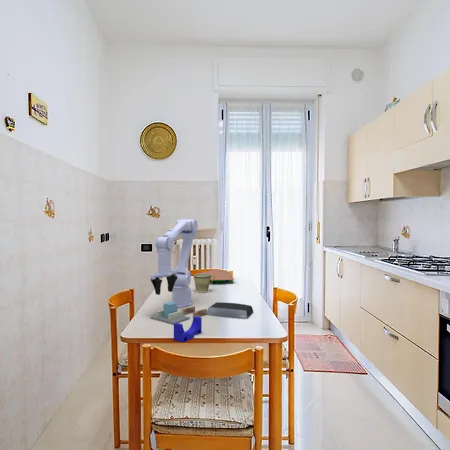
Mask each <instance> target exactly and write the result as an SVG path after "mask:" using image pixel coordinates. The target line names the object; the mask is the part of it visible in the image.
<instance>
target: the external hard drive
mask: <svg viewBox="0 0 450 450" xmlns="http://www.w3.org/2000/svg"><path fill="white" fill-rule="evenodd" d="M253 313H254V309H253V307H252V305H250V304H243V303H235V302H221V301H220V302H219V301H217V302H215V303H213V304H212V305H210V306H209V307H207V313H206V315H205V316H211V317H217V318H218V317H219V318H226V319H238V320H248V319H249V318H250V317H251V316H252V314H253Z"/></svg>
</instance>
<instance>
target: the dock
mask: <svg viewBox="0 0 450 450" xmlns="http://www.w3.org/2000/svg"><path fill="white" fill-rule="evenodd" d="M149 319H152V320H154V321H158V322H163V323H166V324H170V325H173V326H174V323H180V324H181V323H182V322H184V321H188V320H190V319H191V317H190V316H186V315H183V311H182V309H180V310H179V311H177V312H175V313H171V314H168V318H165V317H164V309H161V310H158V311H156V314H155V315H150V318H149Z"/></svg>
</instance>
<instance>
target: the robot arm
mask: <svg viewBox="0 0 450 450" xmlns="http://www.w3.org/2000/svg"><path fill="white" fill-rule="evenodd" d="M198 227H199V226H198V221H197V219H196V218H194V219H193V218H190V219H189V218H185V219H184V218H178V219H177V220H176V223H175V226H174V228H169V229H168V230H167V232H165V233H164V234H163V235H162V236H159V237H157V239H156V240H155V243H154V245H155V248H156V253H157V272H155V273H153V274H152V273H151V274H150V282H151V284H152V286H153V289H154V292H155V295H158V296H159V295H161V290H162V289H161V286H162V283H163V280H162V279H161V278H166V280H167V291H168V292H170V293H172V294H171V302H174V303H177V309H178V308H184V307H187V306H191V305H193V302H192V289H191V287H190V285H191V282H192V281H191V280H192V279H191V278H192V277H191V276H192V273H191V272H190V270H189V269H188V265H189V260H190V254H191V250H192V246H193V240H194V238H195V237H196V236H197V232H198ZM179 237H181V238H182V243H181V247H180V251H179V256H178V261H177V265H176V267H174V268H173V269H172V268H171V265H172V263H171V260H172V259H171V257H172V255H171V254H172V249H173V247H174V245H175V242H176V241H177V240H178V238H179ZM171 269H172V270H171Z"/></svg>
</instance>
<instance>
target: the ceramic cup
mask: <svg viewBox="0 0 450 450" xmlns="http://www.w3.org/2000/svg"><path fill="white" fill-rule="evenodd" d="M200 273H201V274H199V273H195V274H193V280H194V287H195V292H196V293H198V294H205V293H208V292H209V287H210V283H211V284H212V283H213V282H214V281H213V280H214V279H215V276H214V275H210V274H204V273H202V272H200ZM212 276H214V279H213V280H210V278H211V277H212ZM212 281H213V282H212Z"/></svg>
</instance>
